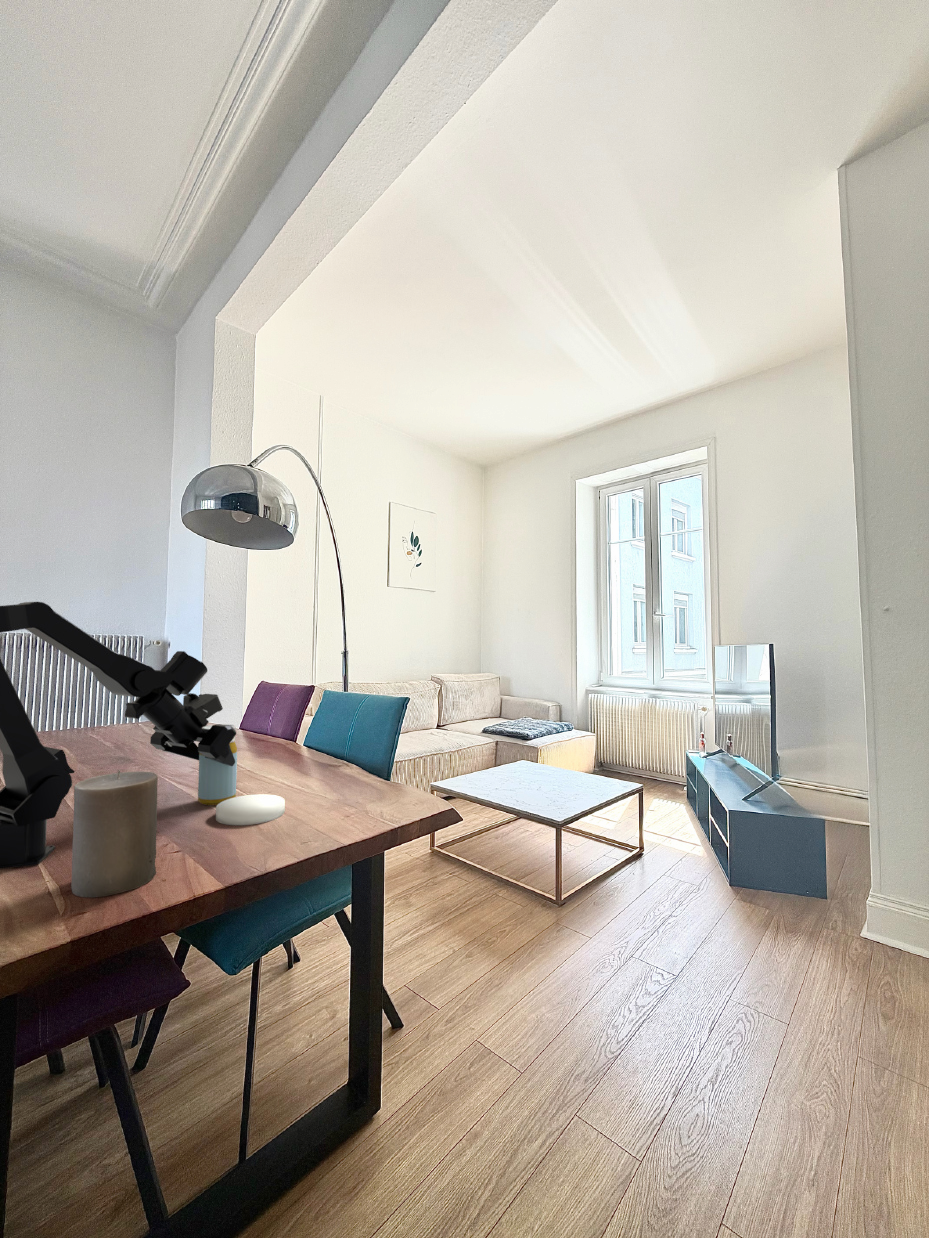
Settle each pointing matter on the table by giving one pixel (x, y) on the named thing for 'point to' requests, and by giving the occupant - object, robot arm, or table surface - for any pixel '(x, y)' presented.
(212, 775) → the bottle
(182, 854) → the table surface
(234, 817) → the round base
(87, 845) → the pillar candle
